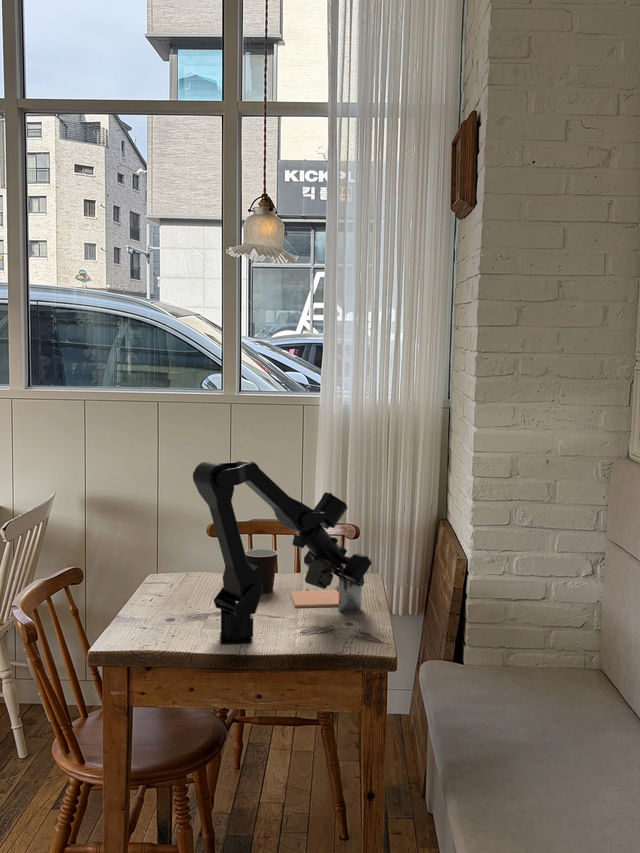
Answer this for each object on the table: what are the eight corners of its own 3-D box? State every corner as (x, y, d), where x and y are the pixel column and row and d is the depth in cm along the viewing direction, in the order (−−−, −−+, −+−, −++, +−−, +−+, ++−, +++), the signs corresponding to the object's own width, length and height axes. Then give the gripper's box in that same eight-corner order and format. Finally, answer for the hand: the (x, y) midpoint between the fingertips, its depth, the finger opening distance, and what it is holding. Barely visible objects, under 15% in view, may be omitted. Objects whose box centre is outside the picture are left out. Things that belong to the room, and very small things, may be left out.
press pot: (339, 613, 197) (340, 570, 196) (336, 606, 203) (336, 564, 202) (363, 613, 198) (364, 570, 197) (359, 605, 204) (360, 564, 203)
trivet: (295, 607, 202) (295, 605, 202) (290, 593, 214) (290, 591, 214) (343, 606, 203) (343, 603, 203) (336, 592, 215) (336, 590, 215)
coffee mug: (272, 596, 211) (272, 557, 210) (239, 594, 213) (239, 555, 212) (283, 584, 223) (283, 547, 222) (252, 582, 224) (252, 545, 223)
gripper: (276, 563, 197) (311, 600, 205) (327, 580, 183) (363, 619, 191) (302, 526, 201) (335, 564, 209) (354, 539, 187) (388, 579, 195)
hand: (354, 581), depth 201 cm, fingers closed on press pot, 5 cm apart
